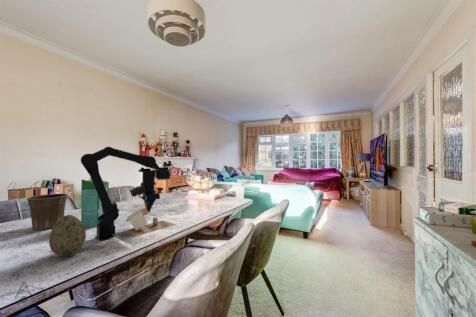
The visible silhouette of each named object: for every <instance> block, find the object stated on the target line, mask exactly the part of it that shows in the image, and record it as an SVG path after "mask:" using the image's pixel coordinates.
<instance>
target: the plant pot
mask: <svg viewBox="0 0 476 317" xmlns="http://www.w3.org/2000/svg"><path fill="white" fill-rule="evenodd" d="M68 196H69V194H68V193H50V194H41V195H40V194H39V195H33V196H29V197H27V198H26V200H27V203H28V207H29V211H30V212H29V213H30V219H31V227H32V230H34V231H45V230H47V229H51V230H52V229H53V227H54V225H55V224H56V223H57V222H58V221H59V220H60V219H61V218H62V217H64V216H65V213H66V212H65V211H66V203H67V198H68Z"/></svg>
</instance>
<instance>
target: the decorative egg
mask: <svg viewBox="0 0 476 317" xmlns="http://www.w3.org/2000/svg"><path fill="white" fill-rule="evenodd" d="M86 237H87V234H86V229H85V226H83V224H82V222H81V219H79V218H78V217H76V216H75V215H72V214H66V215H64V217H62V218H61V219H60V220H59V221H58V222H57V223H56V224H55V225H54V227H53V228H51V231H50V234H49V238H48V244H49V248H50V250H51V252H52V253H53V254H54V255H57V256H60V257H69V256H72V255H74V254H76V253H78V252H79V251H80V249H82V247H83V246H84V244H85V242H86Z"/></svg>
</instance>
